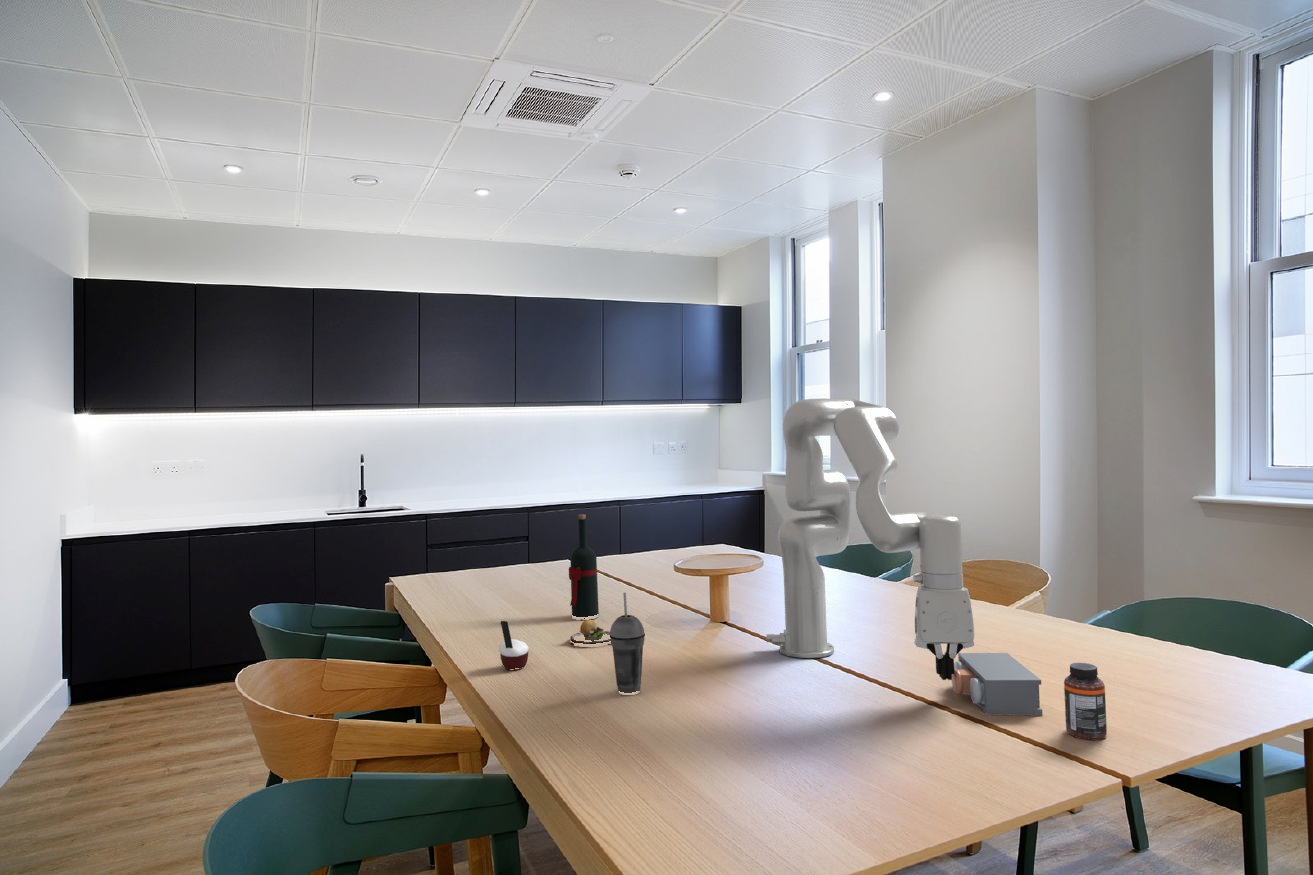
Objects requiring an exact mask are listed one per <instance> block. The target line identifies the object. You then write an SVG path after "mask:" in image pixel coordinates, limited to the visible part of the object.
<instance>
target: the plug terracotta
mask: <svg viewBox="0 0 1313 875" xmlns="http://www.w3.org/2000/svg"><path fill="white" fill-rule="evenodd" d="M971 678H975V673H974V672H973V671H972V670H971V669H957V670H954V674H952V680H951V684H952V686H951V687H952V690H953V692H954V694H956V695H969V694H970V679H971Z"/></svg>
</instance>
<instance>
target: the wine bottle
mask: <svg viewBox="0 0 1313 875" xmlns="http://www.w3.org/2000/svg"><path fill="white" fill-rule="evenodd" d="M586 516H587V514H584V513H583V514H577V517H578V520H577V521H578V547H577V548H575V549H574V550H573V551H572V552H571V555H570V557H569V558H570V560H569V561H570V566H569V567H568V578H569V581H570V591H571V592H570V593H571V595H570V597H571V599H570V605H569V607H571V616H572V615H573V616H576V617H588V616H594V615H597V614H599V615H600V612H599V588H598V586H599V585H598V565H597V564H598V563H597V555H596V552H595V551H594V550H593V549H592V548H591V547H588V540H587V538H588V536H587V517H586ZM583 615H584V616H583Z"/></svg>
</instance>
